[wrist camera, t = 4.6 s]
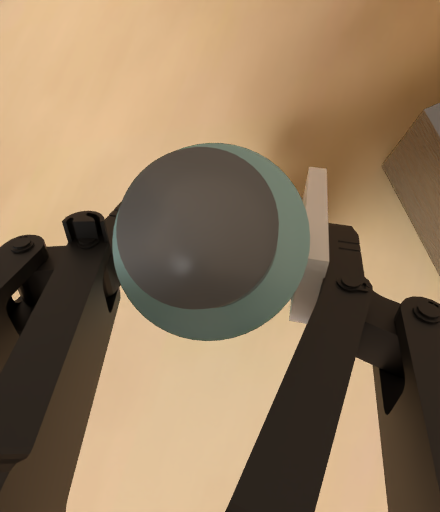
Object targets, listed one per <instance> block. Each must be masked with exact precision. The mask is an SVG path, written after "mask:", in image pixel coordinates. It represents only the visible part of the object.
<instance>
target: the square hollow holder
mask: <svg viewBox="0 0 440 512" xmlns="http://www.w3.org/2000/svg"><path fill="white" fill-rule="evenodd" d="M382 167H383V169H384V171H385V173H386V175H387V177H388V179H389V181H390V182H391V184H392V186H393V188H394V190H395V192H396V194H397V196H398V198H399V199H400V201H401V203H402V205H403V207H404V209H405V211H406V213H407V215H408V216H409V218H410V220H411V222H412V224H413V226H414V228H415V230H416V232H417V233H418V235H419V237H420V239H421V241H422V243H423V245H424V247H425V249H426V250H427V252H428V254H429V256H430V258H431V260H432V262H433V264H434V266H435V267H436V269H437V271H438V273H439V275H440V103H438V104H436V105H433V106H431V107H429V108H426V109H424V110H423V111H422V113H421V114H420V115H419V117H418V118H417V119H416V121H415V122H414V123H413V125H412V126H411V127H410V129H409V130H408V131H407V133H406V134H405V135H404V137H403V138H402V139H401V141H400V142H399V143H398V145H397V146H396V147H395V149H394V150H393V151H392V152H391V154H390V155H389V156H388V158H387V159H386V160H385V162H384V163H383V164H382Z"/></svg>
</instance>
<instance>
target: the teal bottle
mask: <svg viewBox="0 0 440 512" xmlns="http://www.w3.org/2000/svg"><path fill="white" fill-rule="evenodd" d="M112 249H113V259H114V265H115V269H116V273H117V276H118V279H119V281H120V284H121V286H122V288H123V290H124V292H125V294H126V295H127V297H128V299H129V300H130V301H131V303H132V304H133V305H134V306H135V308H136V309H137V310H138V311H139V312H140V313H141V314H142V315H143V316H144V317H145V318H146V319H148V320H149V321H150V322H152V323H153V324H154V325H156V326H157V327H159V328H161V329H163V330H165V331H167V332H169V333H171V334H174V335H177V336H179V337H183V338H188V339H192V340H202V341H215V340H224V339H229V338H234V337H237V336H240V335H243V334H246V333H248V332H250V331H252V330H254V329H256V328H258V327H260V326H261V325H263V324H264V323H266V322H267V321H269V320H270V319H271V318H273V317H274V316H275V315H276V314H277V313H278V312H279V311H280V310H281V309H282V308H283V307H284V306H285V305H286V304H287V302H288V301H289V300H290V299H291V297H292V296H293V294H294V293H295V291H296V290H297V288H298V286H299V284H300V282H301V279H302V277H303V275H304V272H305V269H306V266H307V262H308V256H309V251H310V229H309V221H308V217H307V213H306V209H305V206H304V204H303V201H302V199H301V197H300V195H299V193H298V191H297V189H296V188H295V186H294V185H293V183H292V182H291V181H290V179H289V178H288V177H287V175H286V174H285V173H284V172H283V171H282V170H281V169H280V168H279V167H278V166H276V165H275V164H274V163H272V162H271V161H270V160H268V159H267V158H265V157H263V156H262V155H260V154H258V153H256V152H254V151H251V150H249V149H247V148H243V147H240V146H236V145H231V144H223V143H205V144H197V145H193V146H189V147H185V148H182V149H179V150H176V151H174V152H171V153H168V154H166V155H164V156H162V157H160V158H158V159H157V160H155V161H154V162H152V163H151V164H150V165H148V166H147V167H146V168H145V169H144V170H143V171H142V172H141V173H140V174H139V175H138V176H137V177H136V178H135V179H134V181H133V182H132V184H131V185H130V187H129V188H128V190H127V192H126V194H125V196H124V198H123V200H122V203H121V205H120V208H119V211H118V213H117V216H116V220H115V225H114V230H113V239H112Z"/></svg>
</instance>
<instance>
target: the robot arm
mask: <svg viewBox="0 0 440 512" xmlns="http://www.w3.org/2000/svg"><path fill="white" fill-rule="evenodd" d="M121 203H122V202H121ZM121 203H120V204H119V205H118V206H117V207H116V208H115V209H114V211H112V212H111V213H110V214H109V216H108V217H107V218H106V219H105V220H104V217H103V216H102V214H100V213H98V212H95V211H81V212H77V213H74V214H71V215H69V216H67V217H66V218H65V219H64V220H63V221H62V223H63V226H64V230H65V233H66V236H67V240H68V244H67V246H53V247H46V244H45V242H44V240H43V239H42V238H41V237H40V236H37V235H24V236H23V235H22V236H18V237H16V238H14V239H11V240H10V241H8V242H6V243H5V244H4V245H3V246H1V247H0V512H66V504H67V499H68V495H69V491H70V487H71V483H72V479H73V476H74V472H75V468H76V464H77V460H78V457H79V453H80V449H81V445H82V442H83V438H84V434H85V430H86V426H87V423H88V419H89V415H90V411H91V407H92V404H93V400H94V396H95V392H96V388H97V385H98V381H99V377H100V373H101V369H102V366H103V362H104V358H105V354H106V351H107V347H108V343H109V339H110V335H111V332H112V328H113V324H114V320H115V316H116V313H117V309H118V305H119V301H120V290H119V287H120V285H121V284H120V281H119V279H118V276H117V273H116V269H115V265H114V259H113V249H112V239H113V230H114V225H115V220H116V216H117V213H118V211H119V208H120V205H121ZM303 204H304V206H305V209H306V213H307V217H308V221H309V229H310V251H309V256H308V262H307V266H306V269H305V272H304V275H303V277H302V279H301V282H300V284H299V286H298V288H297V290H296V291H295V293H294V294H293V296H292V297H291V306H290V316H289V321H294V322H300V323H305V324H307V325H306V328H305V330H304V332H303V335H302V337H301V339H300V341H299V344H298V346H297V348H296V351H295V353H294V355H293V358H292V360H291V362H290V364H289V367H288V369H287V371H286V374H285V376H284V378H283V381H282V383H281V385H280V387H279V390H278V392H277V394H276V397H275V399H274V401H273V404H272V406H271V408H270V410H269V413H268V415H267V417H266V420H265V422H264V424H263V427H262V429H261V431H260V434H259V436H258V438H257V440H256V443H255V445H254V447H253V450H252V452H251V454H250V457H249V459H248V461H247V463H246V466H245V468H244V470H243V473H242V475H241V477H240V480H239V482H238V484H237V486H236V489H235V491H234V493H233V496H232V498H231V500H230V502H229V505H228V507H227V509H226V511H225V512H315V508H316V504H317V501H318V497H319V493H320V489H321V485H322V482H323V478H324V474H325V470H326V467H327V463H328V459H329V455H330V451H331V448H332V444H333V440H334V436H335V433H336V429H337V425H338V421H339V417H340V414H341V410H342V406H343V402H344V399H345V395H346V391H347V387H348V383H349V380H350V376H351V372H352V368H353V365H354V361H355V357H357V358H359V359H361V360H363V361H365V362H368V363H370V364H372V365H373V372H374V382H375V391H376V400H377V410H378V419H379V429H380V438H381V447H382V457H383V466H384V475H385V485H386V494H387V503H388V512H440V304H439V303H437V302H435V301H433V300H431V299H427V298H424V297H409V298H406V299H405V300H404V301H403V302H402V303H401V304H399V303H397V302H394V301H392V300H389V299H387V298H384V297H382V296H380V295H379V294H377V293H376V292H374V291H373V289H372V285H371V283H370V282H369V280H368V279H366V278H365V277H364V271H363V264H362V257H361V252H360V251H361V250H360V245H359V244H360V243H359V236H358V234H357V233H356V231H355V230H354V229H353V228H352V226H346V225H338V224H331V223H328V194H327V169H326V168H317V167H309V169H308V174H307V180H306V185H305V190H304V196H303ZM17 290H18V291H19V293H20V297H19V298H18V299H17V300H15V301H14V300H13V299H12V297H11V296H12V295H13V294H14V293H15V292H16V291H17Z"/></svg>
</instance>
